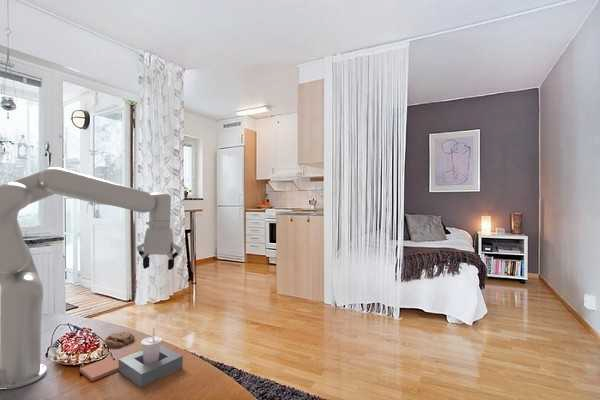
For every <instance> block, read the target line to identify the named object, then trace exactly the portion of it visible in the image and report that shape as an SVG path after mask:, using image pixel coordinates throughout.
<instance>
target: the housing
mask: <svg viewBox="0 0 600 400" xmlns="http://www.w3.org/2000/svg"><path fill="white" fill-rule="evenodd" d="M183 361H184V359H183V355H181V353H178V352H176V351H174V350H172V349H170V348H168V347H167V346H165V345H162V344H161V346H160V353H159V359H158V361H157V362H155V363H152V364H150V365H148V366H145V365H144V360H143V351H142V349H141V350H139V351H136V352H134V353H131V354H129V355H126V356H124V357H123V356H122V357H121V358H118V363H119V366H118V371H117V372H119V373H120V374H121V375H123V376H125V377H126V378H127V379H129V381H131V382H133V383H134V384H135V385H136V386H138V387H140V388H143V387H145V386H147V385H149V384H151V383H150V382H152V383H154V382H155V381H154V380H156V379H158V378H160V377H162V376H164V377H166V376H168V375H170V374H169V373H171V372H173V371H175V372H176V370H177V371H179V370H180V368H181V369H182V368H183ZM178 369H179V370H178ZM173 373H174V372H173ZM167 374H168V375H167ZM171 374H172V373H171ZM165 375H166V376H165ZM162 378H163V377H162ZM160 379H161V378H160ZM158 380H159V379H158ZM153 381H154V382H153ZM156 381H157V380H156Z"/></svg>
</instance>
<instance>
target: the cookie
mask: <svg viewBox="0 0 600 400" xmlns="http://www.w3.org/2000/svg"><path fill="white" fill-rule="evenodd" d="M103 341H104V342H105V343H106V344H107V345H108V347H109V348H110V349H117V348H123V347H124V346H127V345H129V344H131V343H132V342H133V341H135V335H134V333H131V332H128V331H127V332H126V331H122V332H117V333H111V334H109V335H108V336H106V338H105V339H104V340H103ZM108 347H107V348H108Z"/></svg>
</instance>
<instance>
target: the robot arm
mask: <svg viewBox="0 0 600 400" xmlns="http://www.w3.org/2000/svg"><path fill="white" fill-rule="evenodd" d="M53 195H58V196H61V197H62V196H63V197H66V198H72V199H75V200H76V199H77V200H80V201H84V202H88V203H93V204H97V205H105V206H112V207H117V208H121V209H125V210H126V209H127V210H130V211H132V212H136V213H141V214H143V213H144V214H146V213H148V214H149V217H148V219H149V220H147V221H145V225H147V226H148V227H147V228H146V229H145V234H144V240H143V243H141V244H139V245H137V246H136V249H137V252H138V254H139V255H140V256H141V258H142V267H143V269H147V268H150V255H154V256H155V255H156V256H157V255H158V256H159V255H160V256H165V255H166V256H167V257H168V259H167V270H168V271H170V270H172V269H174V267H175V259H176V258H177V257H178V256H179V254H180V252H181V251H182V247H181V246H179V245H177V244H175V243H174V234H173V229H172V228H171V207H172V195H170V194H169V193H164V192H153V193H149V192H147V191H145V190H140V189H137V188H133V187H130V186H126V185H122V184H117V183H115V182H111V181H108V180H105V179H101V178H97V177H94V176H91V175H87V174H83V173H80V172H76V171H72V170H69V169H67V168H66V169H65V168H62V167H57V166H55V167H54V166H53V167H48V168H46V169H44V170H41V171H38V172H35V173H34V174H31V175H27V176H25V177H22V178H19V179H16V180H13V181H9V182H5V183H2V184H0V287H1V289H0V388H7V389H6V390H13V389H17V388H22V387H24V386H27V385H30V384H33V383H34V382H36V381H38V380H40V379H41V378H42V377H44V376H45V375H46V374H47V372H48V371H47V369H48V367H47V366H46V365H45V364H42V363H41V361H42V359H41V358H42V355H41V354H42V316H43V315H42V313H43V312H42V311H43V299H44V286H43V284H42V281H41V279H40V275H39V273H38V270H37V267H36V264H35V262H34V259H33V256H32V253H31V250H30V248H29V246H28V244H27V243H26V242H25V240H24V236H23V234H22V230H21V227H20V224H19V221H18V214H19V212H20V211H21V210H22V209H24V208H26V207H28V205H30V204H34V203H35V202H38V201H41V200H43V199H44V200H45V199H46V198H49V197H50V196H53ZM174 250H175V252H174Z"/></svg>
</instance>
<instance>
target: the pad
mask: <svg viewBox="0 0 600 400" xmlns="http://www.w3.org/2000/svg"><path fill="white" fill-rule="evenodd" d="M118 366H119V362H117V361H116V360H114V359H113V358H112V357H110V356H109V357H107V358H104V359H101V360H99V361H96V362H93V363H90V364H87V365H85V366H83V367H82V366H81V367H79V372H80V373H81V374H82V375H83V376H85V377H86V378H87V379H88V380H90V381H91V382H94V381H96V380H98V379H101V378H103V377H106V376H109V375H111V374H114V373H116V372H118Z"/></svg>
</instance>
